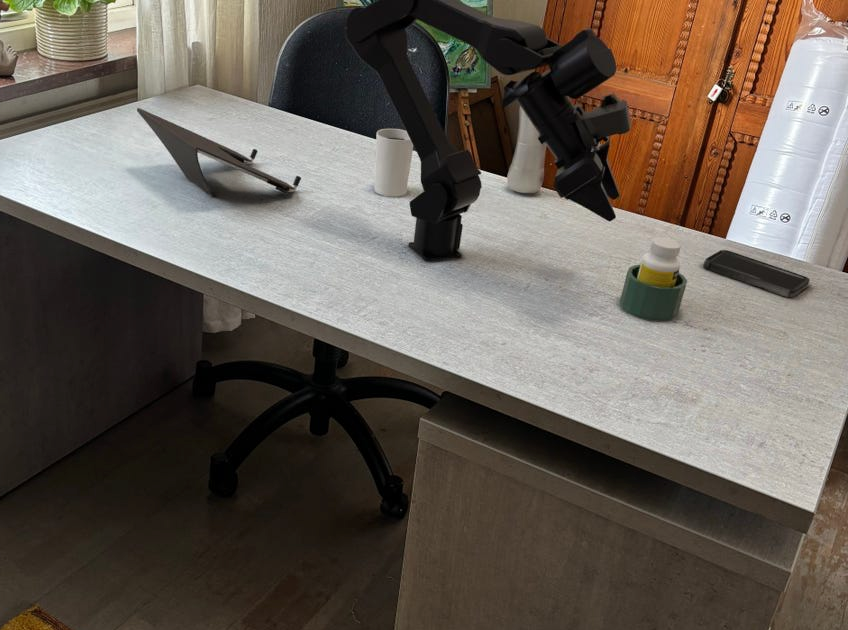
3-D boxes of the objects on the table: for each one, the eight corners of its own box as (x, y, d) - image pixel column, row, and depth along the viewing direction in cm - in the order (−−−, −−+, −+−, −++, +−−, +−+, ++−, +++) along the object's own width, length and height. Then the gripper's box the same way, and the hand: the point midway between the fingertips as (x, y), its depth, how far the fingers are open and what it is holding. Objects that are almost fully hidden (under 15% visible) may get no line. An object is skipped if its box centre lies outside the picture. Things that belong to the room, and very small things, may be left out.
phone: (723, 248, 161) (812, 278, 153) (721, 255, 162) (809, 285, 154) (702, 260, 156) (793, 292, 148) (700, 267, 157) (791, 298, 149)
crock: (643, 324, 138) (652, 291, 135) (608, 298, 144) (616, 267, 141) (689, 317, 141) (699, 285, 138) (653, 292, 147) (662, 261, 144)
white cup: (401, 184, 178) (407, 128, 172) (413, 196, 173) (420, 140, 167) (366, 184, 176) (371, 128, 170) (378, 198, 171) (383, 140, 165)
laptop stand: (289, 233, 170) (312, 184, 167) (179, 190, 153) (202, 134, 151) (228, 190, 185) (248, 144, 182) (121, 146, 168) (141, 95, 166)
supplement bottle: (668, 316, 140) (687, 252, 134) (630, 310, 140) (647, 246, 135) (667, 301, 144) (684, 238, 138) (630, 295, 145) (646, 232, 139)
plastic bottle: (501, 184, 182) (520, 72, 171) (537, 186, 183) (557, 75, 172) (508, 196, 177) (528, 81, 166) (544, 198, 178) (566, 84, 167)
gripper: (600, 94, 120) (666, 197, 125) (609, 62, 135) (668, 156, 140) (525, 147, 126) (590, 244, 131) (542, 111, 141) (600, 199, 145)
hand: (614, 208), depth 136 cm, fingers open, 9 cm apart
